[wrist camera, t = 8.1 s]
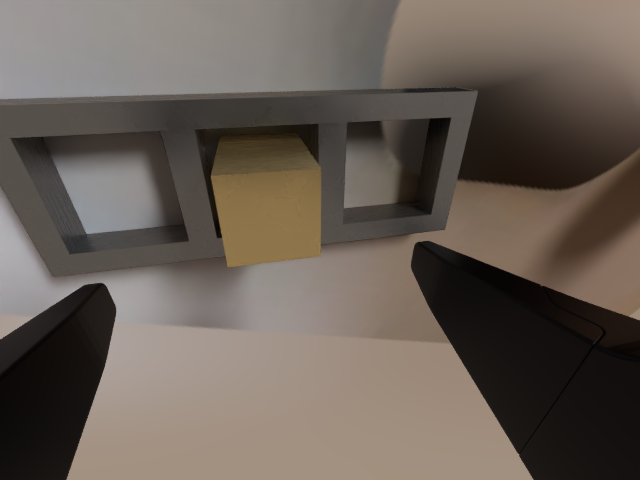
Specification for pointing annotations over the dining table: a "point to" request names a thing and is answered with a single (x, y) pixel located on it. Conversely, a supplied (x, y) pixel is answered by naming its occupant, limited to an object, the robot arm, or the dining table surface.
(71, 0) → the dining table surface
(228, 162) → the brass block
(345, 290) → the dining table surface
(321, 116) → the grey flat frame
